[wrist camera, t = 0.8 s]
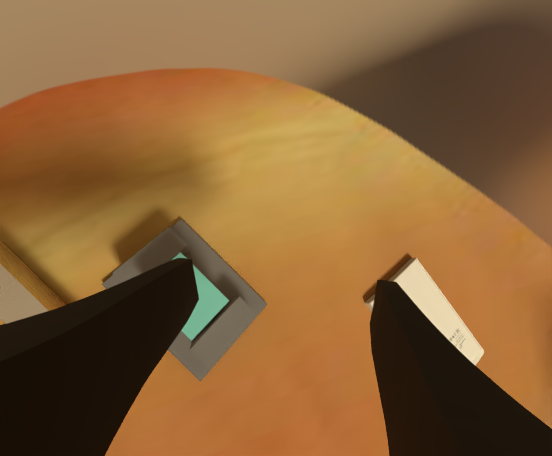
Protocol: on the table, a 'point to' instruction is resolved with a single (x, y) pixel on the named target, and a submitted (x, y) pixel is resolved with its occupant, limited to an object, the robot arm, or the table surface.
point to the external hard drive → (435, 308)
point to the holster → (240, 295)
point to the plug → (203, 304)
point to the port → (22, 290)
